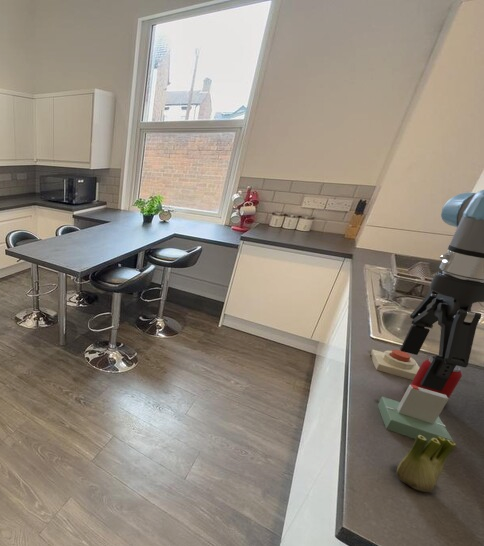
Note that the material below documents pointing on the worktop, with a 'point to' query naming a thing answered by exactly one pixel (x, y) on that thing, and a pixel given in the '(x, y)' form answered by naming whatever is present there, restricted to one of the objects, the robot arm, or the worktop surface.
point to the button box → (394, 365)
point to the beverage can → (449, 384)
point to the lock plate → (409, 422)
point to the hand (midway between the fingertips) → (418, 368)
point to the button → (400, 355)
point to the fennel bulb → (424, 463)
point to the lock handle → (422, 404)
